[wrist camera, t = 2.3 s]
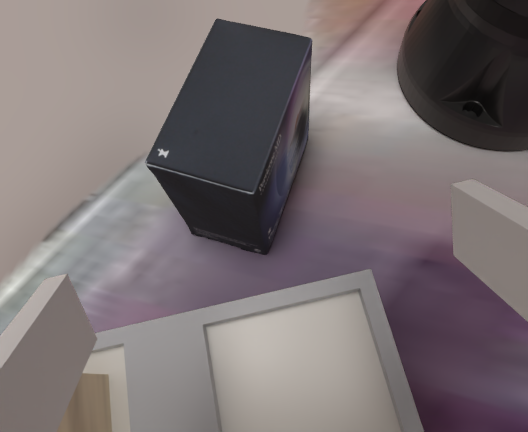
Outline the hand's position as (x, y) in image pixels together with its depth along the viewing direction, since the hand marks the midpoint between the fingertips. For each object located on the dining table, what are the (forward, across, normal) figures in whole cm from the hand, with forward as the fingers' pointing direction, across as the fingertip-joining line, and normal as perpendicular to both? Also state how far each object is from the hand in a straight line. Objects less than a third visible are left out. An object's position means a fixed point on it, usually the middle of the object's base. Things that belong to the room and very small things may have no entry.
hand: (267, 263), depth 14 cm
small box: (+18, 0, -3) cm, 18 cm away
